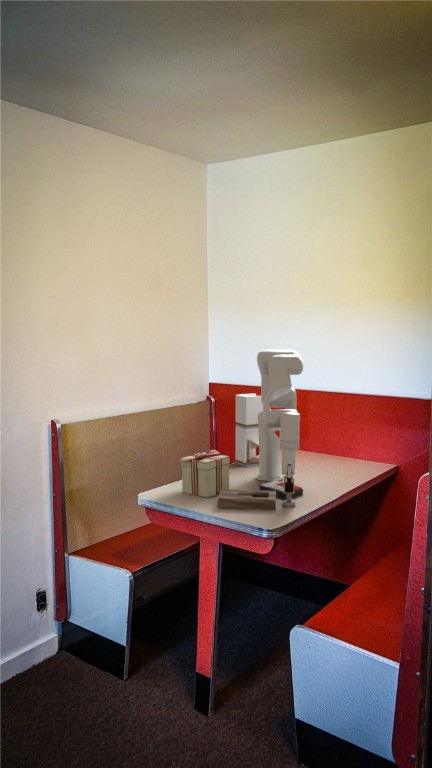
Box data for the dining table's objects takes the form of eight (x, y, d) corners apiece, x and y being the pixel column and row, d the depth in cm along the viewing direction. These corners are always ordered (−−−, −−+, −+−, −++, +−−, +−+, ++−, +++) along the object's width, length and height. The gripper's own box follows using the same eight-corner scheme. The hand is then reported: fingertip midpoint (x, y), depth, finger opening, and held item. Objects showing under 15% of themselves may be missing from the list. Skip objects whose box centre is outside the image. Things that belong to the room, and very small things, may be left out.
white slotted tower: (246, 467, 304) (246, 396, 300) (235, 463, 313) (235, 394, 310) (265, 464, 309) (266, 395, 305) (254, 460, 318) (255, 393, 315)
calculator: (287, 492, 247) (258, 483, 257) (287, 502, 248) (258, 493, 258) (303, 487, 255) (275, 478, 265) (303, 497, 256) (274, 488, 266)
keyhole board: (221, 499, 249) (221, 489, 249) (275, 500, 247) (275, 490, 246) (218, 508, 236) (218, 498, 236) (275, 510, 234) (275, 500, 234)
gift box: (196, 484, 272) (196, 445, 271) (231, 490, 262) (231, 450, 260) (172, 492, 258) (172, 452, 257) (208, 500, 248) (208, 457, 246)
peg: (282, 503, 243) (282, 475, 241) (295, 504, 242) (295, 475, 241) (282, 507, 238) (282, 478, 236) (295, 507, 237) (295, 478, 236)
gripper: (279, 440, 246) (279, 485, 248) (279, 448, 230) (279, 496, 231) (298, 440, 245) (297, 485, 247) (300, 448, 229) (299, 497, 231)
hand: (288, 490), depth 239 cm, fingers closed on peg, 4 cm apart
